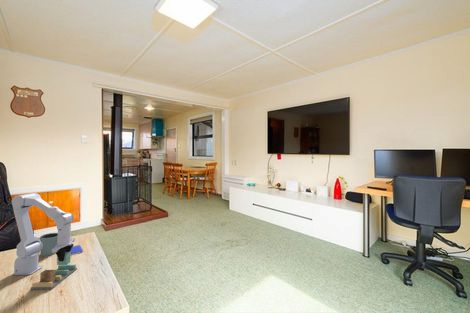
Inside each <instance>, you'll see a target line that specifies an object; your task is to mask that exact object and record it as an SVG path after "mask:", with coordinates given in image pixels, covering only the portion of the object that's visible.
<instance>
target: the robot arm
mask: <svg viewBox="0 0 470 313" xmlns="http://www.w3.org/2000/svg"><path fill="white" fill-rule="evenodd" d="M11 206H12V209H13V214H14V218H15V222H16V227H17V229H18V234H19V237H20V242H19V243H18V244H17V245H16V256H17V257H16V258H15V260H14V263H13V264H14V266H13V267H14V268H13V269H14V270H13V271H14V272H13V273H12V275H13V276H16V275H17V276H19V275H20V276H21V275H22V276H23V275H24V276H25V275H29V276H30V275H32V274H34V273H36V272H37V271H38V270H40V269H42V268H43V266H41V265H39V254H40V252H41V251H40V250H41V249H42V247H43V245H42V243H41V241H40V237H37V236H35V234H34V229H33V227H32V221H31V219H30V214H29V210H30V208H32V207H33V206H35V207H36V208H38V209H40V210H41V211H44V212H45V215H46V216H47V217H48V218H50V219H51V220H53V221H54V224H55V225H56V229H57V233H58V241H57V245H56V246H55V247H54V248H53V249H52V253H55V254H54V255H56V258H57V257H58V260H59V261H64V256H65V252H70V251H71V249H72V247H73V246H74V242H75V241H76V238H74V237H71V235H72V234H71V233H72V232H71V231H72V230H71V229H72V227H71V226H72V225H71V224H72V222H73V221H74V218H75V216H74V215H73V214H72V213H71V212H65V211H63V210H62V209H60V208H59V206H56V205H55V206H52V205H50V204H49V203H48V202H46V201H45V200H43V198H41V195H40V194H38V193H37V192H31V193H25V194H18V195H15V196H14V197H13V198H12V199H11Z"/></svg>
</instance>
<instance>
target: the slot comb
mask: <svg viewBox="0 0 470 313" xmlns="http://www.w3.org/2000/svg"><path fill="white" fill-rule="evenodd" d="M55 270H56V272H55V282H54V283H53V282H40V281H34V282H32V285H31V287H30V290H31V291H34V290H35V291H36V290H39V291H40V290H41V291H42V290H53V289H54V288H56V287H57V286H58V285H60V284H61V283H62V282H63V281H64V280H65V279H67V278H68V277H69V276H70V275H72V274H73V273H74V272H77V270H78V268H77V264H67V265H57V269H55Z"/></svg>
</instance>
